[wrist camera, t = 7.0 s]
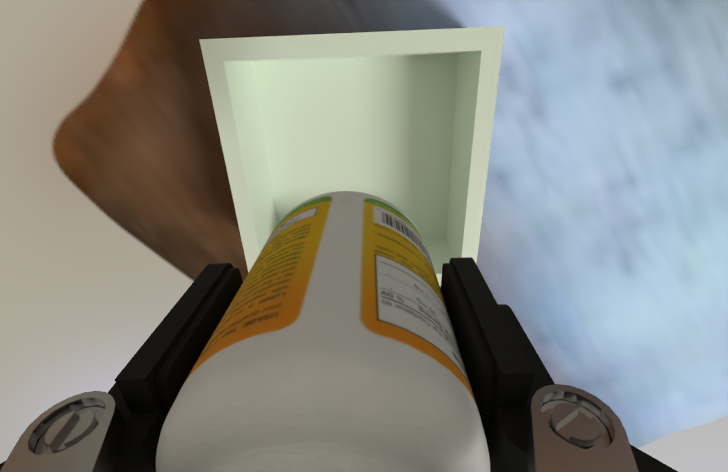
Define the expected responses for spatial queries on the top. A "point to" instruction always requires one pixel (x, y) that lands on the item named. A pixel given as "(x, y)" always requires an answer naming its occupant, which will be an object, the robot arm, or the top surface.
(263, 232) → the bin
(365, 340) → the supplement bottle
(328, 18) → the top surface
